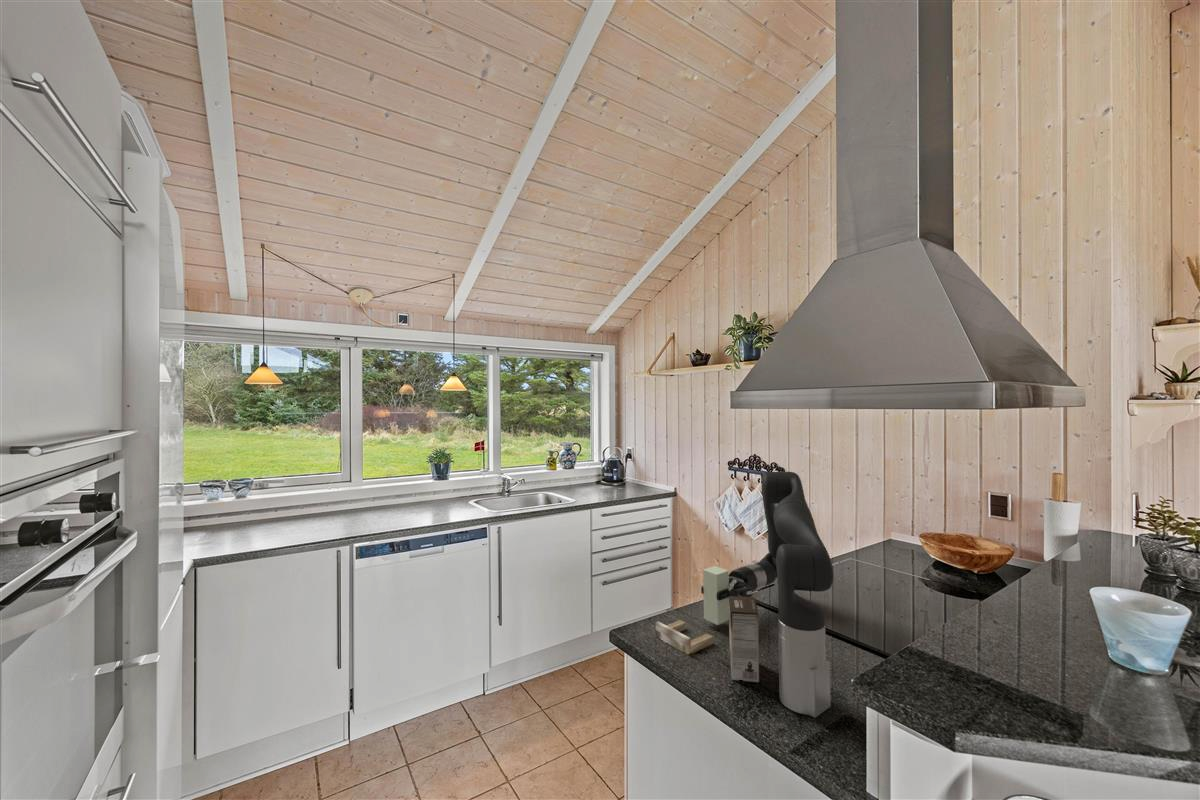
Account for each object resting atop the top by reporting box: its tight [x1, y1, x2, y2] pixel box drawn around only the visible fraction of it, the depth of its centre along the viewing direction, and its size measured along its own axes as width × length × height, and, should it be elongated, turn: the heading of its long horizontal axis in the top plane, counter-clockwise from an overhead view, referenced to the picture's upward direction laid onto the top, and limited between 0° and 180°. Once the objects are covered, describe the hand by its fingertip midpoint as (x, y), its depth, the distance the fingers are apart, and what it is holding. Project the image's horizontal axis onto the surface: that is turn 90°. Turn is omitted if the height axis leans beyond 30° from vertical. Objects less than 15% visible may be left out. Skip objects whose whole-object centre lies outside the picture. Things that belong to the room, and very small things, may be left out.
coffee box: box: [728, 596, 760, 683], centre depth 116 cm, size 9×6×16 cm
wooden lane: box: [655, 619, 714, 656], centre depth 131 cm, size 12×9×4 cm
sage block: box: [702, 565, 730, 626], centre depth 139 cm, size 5×5×14 cm
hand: (710, 593), depth 138 cm, fingers closed on sage block, 5 cm apart
